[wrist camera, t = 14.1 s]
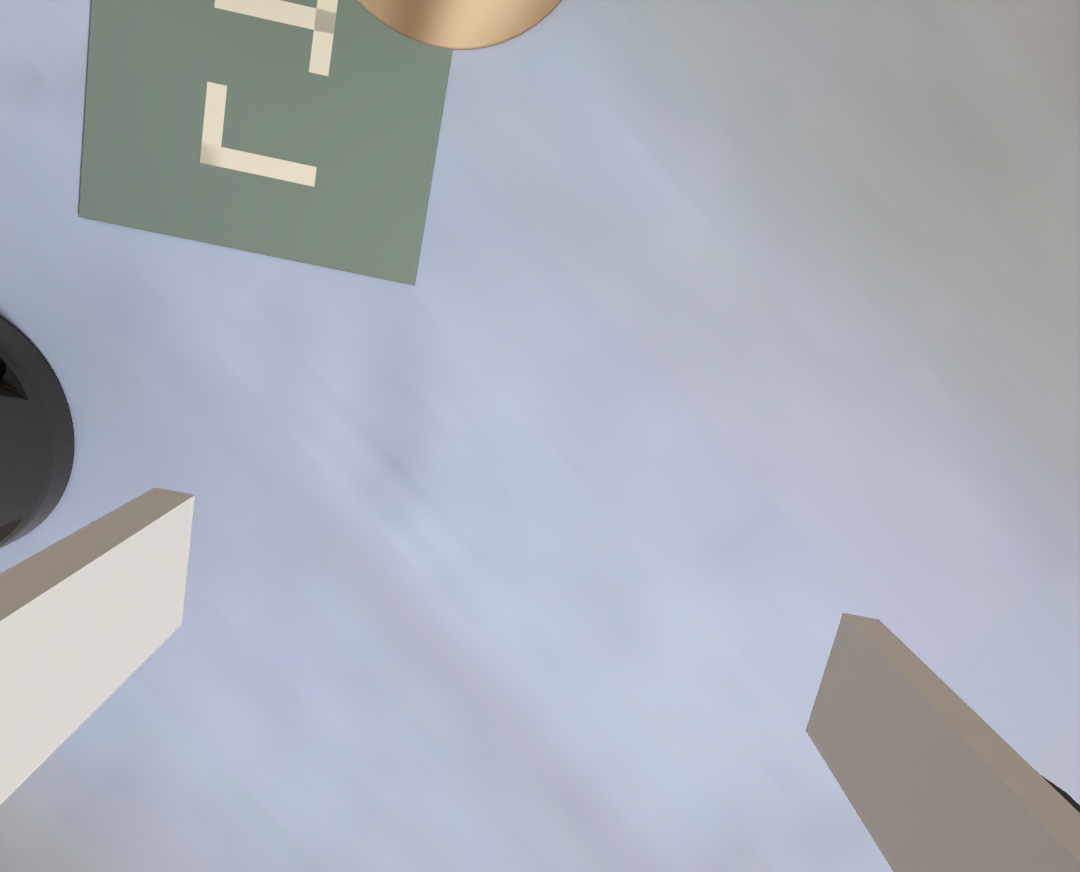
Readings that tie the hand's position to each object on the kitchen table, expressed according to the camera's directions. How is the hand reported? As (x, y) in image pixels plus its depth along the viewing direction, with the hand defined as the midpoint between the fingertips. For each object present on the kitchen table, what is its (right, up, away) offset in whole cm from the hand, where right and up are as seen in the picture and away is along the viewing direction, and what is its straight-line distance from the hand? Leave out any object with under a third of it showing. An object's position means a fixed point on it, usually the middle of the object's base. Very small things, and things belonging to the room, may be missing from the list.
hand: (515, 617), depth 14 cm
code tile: (-13, +22, +22) cm, 34 cm away
